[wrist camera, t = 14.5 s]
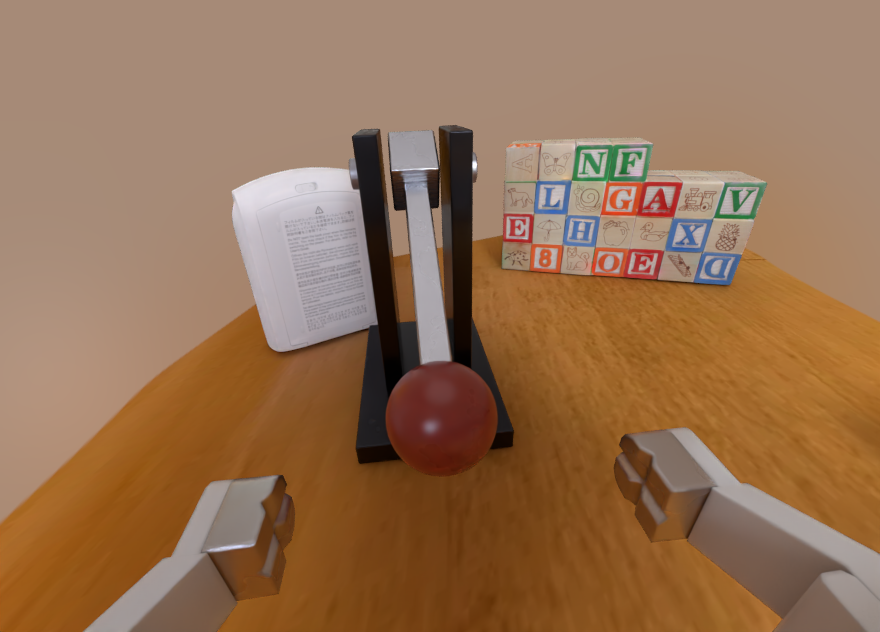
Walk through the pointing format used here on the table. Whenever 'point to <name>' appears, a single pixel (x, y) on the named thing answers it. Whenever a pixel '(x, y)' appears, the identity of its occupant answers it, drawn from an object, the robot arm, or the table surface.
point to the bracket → (390, 339)
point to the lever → (432, 336)
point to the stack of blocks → (622, 213)
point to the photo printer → (305, 255)
